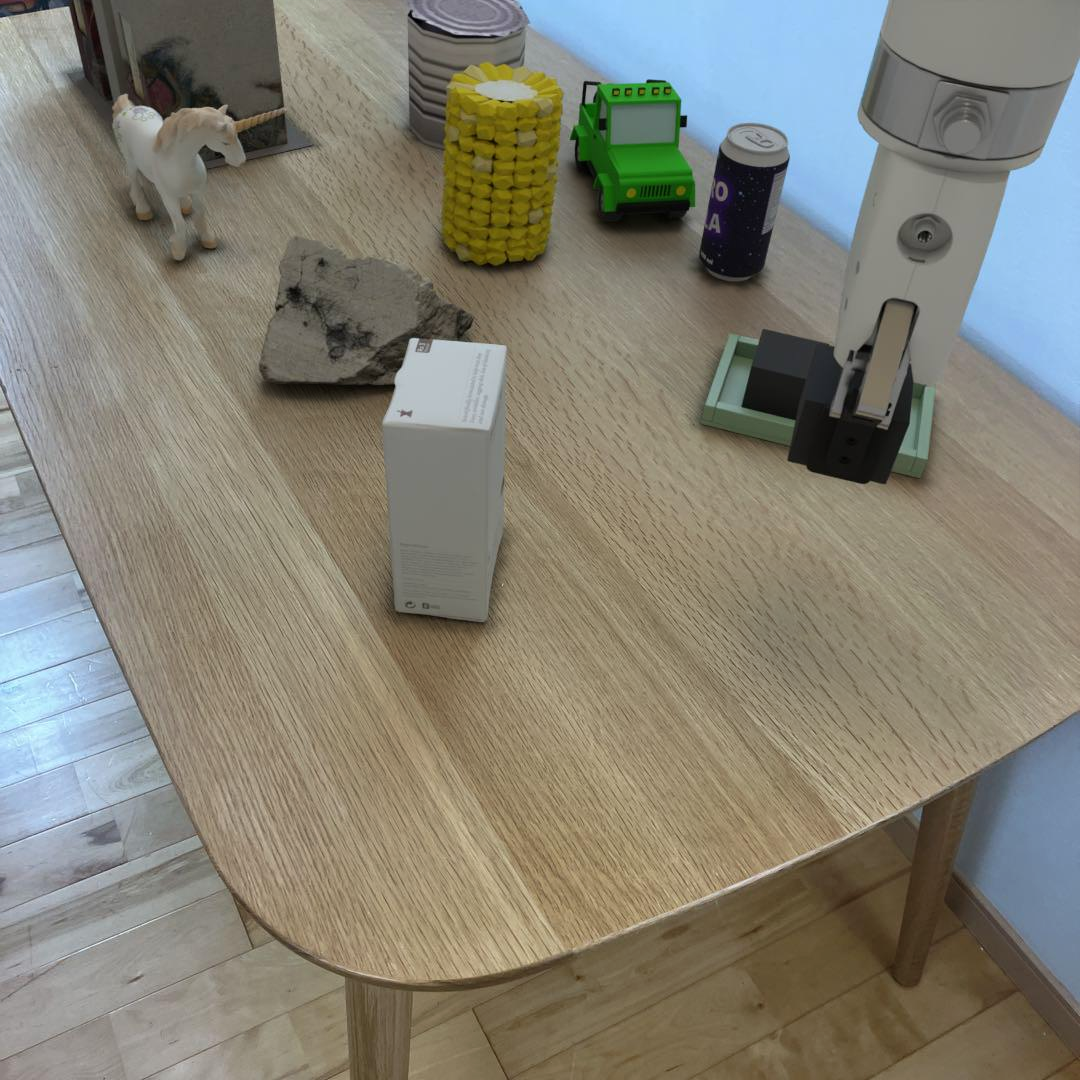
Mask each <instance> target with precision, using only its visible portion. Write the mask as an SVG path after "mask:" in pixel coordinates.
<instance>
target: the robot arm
mask: <svg viewBox="0 0 1080 1080" xmlns="http://www.w3.org/2000/svg"><path fill="white" fill-rule="evenodd" d="M1079 62H1080V0H888V1H887V5H886V9H885V12H884V16H883V19H882V23H881V26H880V30H879V33H878V38H877V41H876V45H875V49H874V52H873V56H872V58H871V62H870V67H869V70H868V73H867V77H866V79H865V80H866V81H865V85H864V88H863V91H862V95H861V97H860V98H861V99H860V100H859V104H858V108H857V112H856V113H857V114H856V115H857V120H858V123H859V125H861V127H862V129H863V131H864V132H866V134H867V135H868V136H869V137H870V138H872V139H873V140H874V141H875V142H877V147H876V151H875V154H874V157H873V161H872V165H871V168H870V172H869V175H868V179H867V182H866V186H865V190H864V193H863V196H862V197H863V198H862V199H861V204H860V207H859V211H858V216H857V219H856V223H855V227H854V231H853V232H854V233H853V236H852V240H851V244H850V249H849V253H848V258H847V261H846V262H847V263H846V268H845V273H844V279H843V285H842V292H841V298H840V305H839V311H838V319H837V326H836V333H835V341H834V357H835V359H836V360H837V362H838V363H839V365H840V366H841V367H842V370H841V373H840V376H839V380H838V383H837V386H836V390H835V393H834V397H833V400H832V403H829V402H825V406H824V409H823V412H822V415H821V418H820V421H819V425H818V428H817V431H816V434H815V437H814V440H813V443H812V447H811V450H810V453H809V456H808V460H807V466H806V469H807V470H808V471H809V472H811V473H814V474H818V475H823V476H825V477H826V476H827V477H830V478H835V479H839V480H843V481H847V482H852V483H855V484H859V485H867V484H869V483H870V482H872V481H871V479H872V476H873V473H874V471H875V468H876V465H877V463H878V460H879V457H880V455H881V452H882V449H883V447H884V444H885V442H886V439H887V436H888V434H889V431H890V428H891V426H892V422H893V417H892V415H893V412H894V409H895V406H896V403H897V400H898V397H899V394H900V391H901V388H902V385H903V382H904V379H905V377H906V375H907V370H908V367H909V364H910V363H911V368H912V376H913V382H915V383H920V384H924V386H926V387H931V386H934V385H935V384H936V385H937V384H938V383H940V382H941V381H942V379H943V376H944V374H945V371H946V368H947V366H948V362H949V360H950V356H951V354H952V351H953V348H954V345H955V342H956V340H957V336H958V335H959V331H960V328H961V325H962V323H963V320H964V317H965V314H966V311H967V309H968V305H969V303H970V300H971V298H972V295H973V292H974V289H975V286H976V283H977V281H978V278H979V275H980V272H981V269H982V267H983V263H984V261H985V257H986V255H987V252H988V249H989V246H990V242H991V239H992V237H993V235H994V230H995V227H996V224H997V220H998V217H999V214H1000V211H1001V208H1002V204H1003V200H1004V197H1005V193H1006V189H1007V185H1008V181H1009V177H1010V174H1011V172H1012V171H1016V170H1017V171H1018V170H1020V169H1022V168H1026V167H1028V166H1030V165H1031V164H1034V163H1035V162H1036V161H1037V160H1038V159H1039V158H1041V155H1042V153H1043V151H1044V148H1045V145H1046V143H1047V141H1048V139H1049V136H1050V134H1051V131H1052V128H1053V126H1054V124H1055V122H1056V120H1057V117H1058V114H1059V112H1060V110H1061V107H1062V104H1063V101H1064V100H1065V97H1066V95H1067V93H1068V90H1069V88H1070V84H1071V82H1072V80H1073V79H1074V75H1075V72H1076V70H1077V67H1078V65H1079ZM855 371H860V372H864V373H865V374H864V378H863V381H862V384H861V387H860V388H859V389H856V388H852V389H851V390H850V392H849V388H850V385H851V382H852V378H853V375H854V372H855ZM848 392H849V393H848Z"/></svg>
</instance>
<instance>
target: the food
mask: <svg viewBox="0 0 1080 1080" xmlns="http://www.w3.org/2000/svg"><path fill="white" fill-rule="evenodd" d="M446 90H447V99H448V101H447V105H446V109H445V113H446V122H447V123H446V125H445V127H444V129H445V132H446V138H445V139H444V141H443V143H444V146H445V150H443V153H442V159H443V164H442V168H441V172H442V174H443V176H444V177H443V178H442V180H441V183H442V186H443V194H442V198H441V202H442V203H443V205H442V209H441V214H442V215H441V216H440V221H441V224H442V228H441V230H440V234H441V236H442V237H443V240H444V244H445V245H446V247H447V248H448V249H449V250H450V251H451V252H455V253H456V255H457V257H458V259H459V261H461V262H463V263H465V262H470V261H472V262H473V263H475V264H476V265H478V266H483V265H485V264H488V263H489V264H491V265H493V266H495V267H496V266H499V265H502V264H504V263H505V262H506V261H507V260H508V261H509V262H510V263H512V262H521V261H523V260H524V259H525V260H527V261H534V259H536V257H537V256H540V255H543V254H544V253H545V250H546V247H547V243H548V242H549V234H550V233H551V230H552V225H553V224H552V221H551V219H552V216H553V208H552V207H553V205H554V202H555V200H554V198H555V193H556V185H555V184H556V183H557V182H558V181H559V180H558V174H557V172H558V167H559V159H558V156H557V154H558V152H559V150H560V148H561V145H560V139H561V131H562V130H561V129H562V128H561V127H562V123H561V120H562V119H561V117H562V115H563V109H564V106H563V102H562V100H563V98H564V95H565V93H564V91H563V89H562V88H561V87H560V86H559V85H558V80H557V78H555V77H547V75H546V73H545V72H543V71H537V70H535V71H534V72H533V71H532V70H531V69H529V68H528V67H526V66H525V65H524V66H521V67H519V68H516V69H514V70H513V69H512V68H510V67H509V66H507V65H505V64H502V65H499V66H497V67H495V66H494V65H492V64H491V63H489V62H485V63H482V64H479V66H478V67H476V66H473V65H470V66H469V67H468V68H467V69H466V70H465V71H464V72H463V73H461V74H454V75H453V77H452V79H451V81H450V84H449V85H448V86H447V87H446Z"/></svg>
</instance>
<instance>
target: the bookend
mask: <svg viewBox="0 0 1080 1080" xmlns="http://www.w3.org/2000/svg"><path fill="white" fill-rule="evenodd" d="M67 5H68V8H69V12H70V13H69V14H70V17H71V22H72V26H73V31H74V36H75V39H76V43H77V44H76V45H77V48H78V53H79V57H80V61H81V66H82V70H79V71H74V72H68V73H66V74H67V75H68V77H69V79H71V81H72V82H73V83H74V84H75V86H76V87H77V88H78V89H79V91H80V92H81V93H82V94H83V96H84V97H85V98H86V99H87V101H88V102H89V103H90V104H91V106H92V107H93V109H94V110H95V111H96V112H97V113H98V115H99V116H100V118H102V119H103V121H104V122H105V123H106V124H107V126H108V127H109V128H110V130H112V132H113V133H114V131H113V121H114V120H113V113H114V111H113V109H112V107H113V106H114V104H115V102H116V101H117V99H118V98H119V97H120V96H121V95H124V94H128V99H129V100H130V101H131V102H132V103H133V104H134V105H135V106H147V107H150V108H152V109H154V110H155V111H156V112H158V113H159V114H160V116H161V117H162V119H163V121H164V120H165V119H166V118H168V117H170V116H171V113H177V112H178V111H179V110H180V109H184V108H190V109H191V108H203V107H212V108H214V109H216V110H218V109H219V108H221V107H222V106H224V105H228V108H227V109H226V114H225V115H227V116H228V117H231V118H232V120H233V121H234V122H235V121H241V120H243V119H248V118H250V117H255V116H257V115H261V114H263V113H268V112H271V111H274V110H279V109H281V108H285V102H284V93H283V84H282V73H281V63H280V53H279V52H280V51H279V44H278V43H279V42H278V35H277V33H278V32H277V24H276V15H275V5H274V0H67ZM237 137H238V139H239V141H240V143H241V145H242V148H243V152H244V154H245V157H246V161H249V160H253V159H258V158H262V157H267V156H270V155H271V156H272V155H275V154H280V153H284V152H288V151H293V150H298V149H302V148H306V147H311V146H314V143H313V142H311V141H310V139H309V138H307V136H305V134H303V133H302V131H300V130H299V129H298V128H297V127H296V126H295V125H294V124H293V123H292V122H291V121H289V119H288V118H287V117H286V112H285V113H283V114H280V115H279V116H276V117H274V118H271V119H269V120H267V121H264V122H262V123H260V124H257V125H255V126H253V127H250V128H248V129H246V130H242V131H241V132H237ZM198 154H199V156H200V158H201V159H202V161H203V163H204V166H205V169H206V170H208V169H213V168H217V167H222V166H227V165H229V164H228V163H226V161H225V156H224V155H223V154H222V153H221V152H216V151H213V150H211V149H210V148H208V146H207V145H206V144H205V145H204V146H203V147H202V148H201V149H200V150H199V152H198Z"/></svg>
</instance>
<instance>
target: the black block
mask: <svg viewBox="0 0 1080 1080" xmlns="http://www.w3.org/2000/svg"><path fill="white" fill-rule="evenodd" d="M760 333H761V334H760V337H759V339H758V340H759V343H758V346H757V350H756V353H755V356H754V359H753V362H752V366H751V370H750V374H749V378H748V382H747V386H746V390H745V394H744V398H743V402H742V406H741V407H742V408H746V409H750V410H755V411H759V412H763V413H767V414H771V415H775V416H779V417H783V418H787V419H791V420H795V421H796V416H797V411H798V407H799V402H800V399H801V395H802V392H803V389H804V385H805V382H806V379H807V375H808V372H809V368H810V365H811V362H812V358H813V355H814V352H815V348H816V345H817V343H820V344H825V345H829V346H830V343H828V342H822V341H818V340H814V339H809V338H805V337H802V336H801V337H800V336H797V335H792V334H788V333H783V332H780V331H775V330H770V329H766V328H762V330H761V332H760Z"/></svg>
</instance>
